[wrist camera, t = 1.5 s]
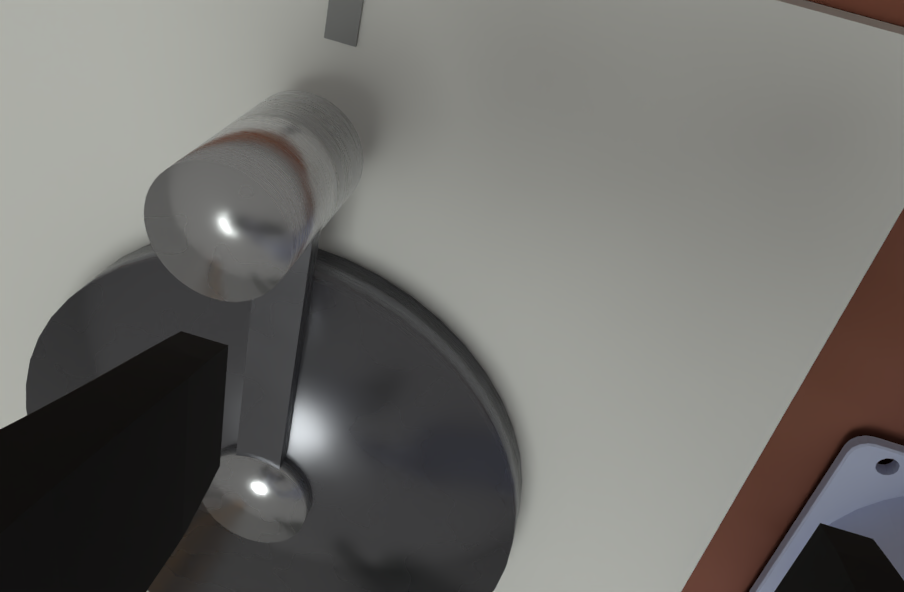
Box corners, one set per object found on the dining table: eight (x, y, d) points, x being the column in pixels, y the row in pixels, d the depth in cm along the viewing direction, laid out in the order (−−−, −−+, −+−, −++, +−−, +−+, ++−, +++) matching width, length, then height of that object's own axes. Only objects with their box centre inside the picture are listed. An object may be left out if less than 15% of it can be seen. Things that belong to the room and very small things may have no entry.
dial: (459, 672, 27) (418, 847, 22) (65, 536, 28) (-51, 678, 23) (651, 166, 17) (649, 294, 12) (35, -13, 18) (-177, 42, 13)
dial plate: (972, 46, 16) (991, 59, 15) (557, 782, 30) (554, 812, 30) (-242, -287, 17) (-293, -293, 16) (-74, 561, 32) (-96, 583, 31)
